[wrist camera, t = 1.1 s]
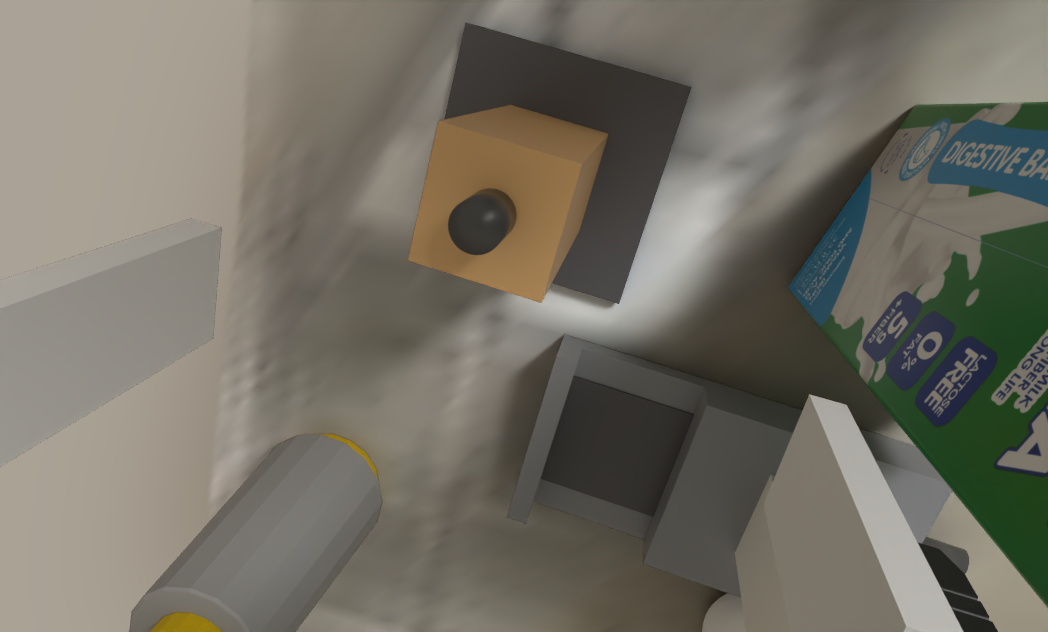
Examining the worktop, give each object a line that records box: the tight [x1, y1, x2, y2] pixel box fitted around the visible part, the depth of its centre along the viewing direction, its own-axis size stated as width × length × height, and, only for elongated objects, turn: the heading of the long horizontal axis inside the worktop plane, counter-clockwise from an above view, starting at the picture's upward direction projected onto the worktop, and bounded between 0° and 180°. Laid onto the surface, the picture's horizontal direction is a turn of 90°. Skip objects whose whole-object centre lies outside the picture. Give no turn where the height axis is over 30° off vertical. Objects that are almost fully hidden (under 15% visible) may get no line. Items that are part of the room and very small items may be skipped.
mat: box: [444, 23, 691, 304], centre depth 33 cm, size 10×10×1 cm
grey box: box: [507, 335, 969, 632], centre depth 30 cm, size 9×21×14 cm, turn 74°
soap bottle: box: [129, 434, 382, 632], centre depth 33 cm, size 7×7×18 cm
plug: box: [408, 105, 608, 303], centre depth 27 cm, size 4×4×13 cm
